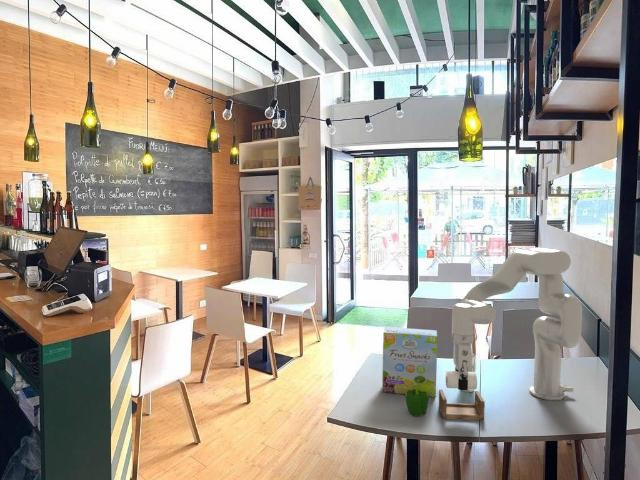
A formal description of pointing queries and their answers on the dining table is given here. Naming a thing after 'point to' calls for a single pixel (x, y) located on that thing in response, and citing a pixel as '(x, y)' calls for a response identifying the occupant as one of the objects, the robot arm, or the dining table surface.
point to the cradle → (462, 408)
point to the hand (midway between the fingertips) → (460, 385)
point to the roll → (454, 376)
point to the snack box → (409, 360)
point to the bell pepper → (417, 401)
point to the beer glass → (472, 370)
